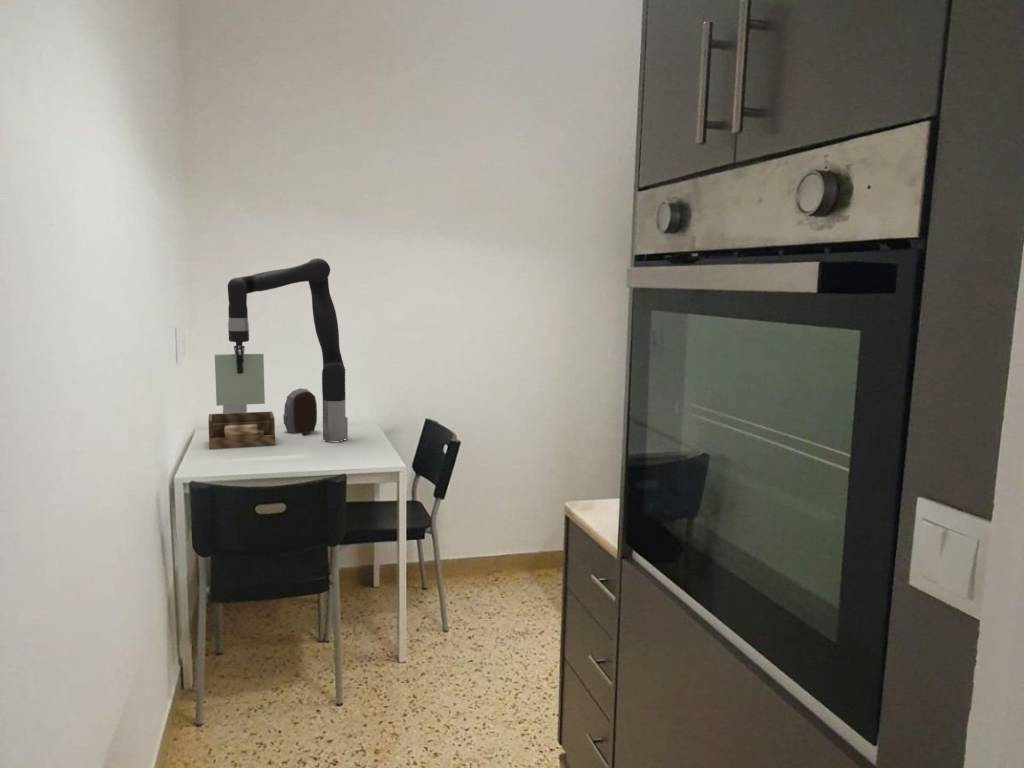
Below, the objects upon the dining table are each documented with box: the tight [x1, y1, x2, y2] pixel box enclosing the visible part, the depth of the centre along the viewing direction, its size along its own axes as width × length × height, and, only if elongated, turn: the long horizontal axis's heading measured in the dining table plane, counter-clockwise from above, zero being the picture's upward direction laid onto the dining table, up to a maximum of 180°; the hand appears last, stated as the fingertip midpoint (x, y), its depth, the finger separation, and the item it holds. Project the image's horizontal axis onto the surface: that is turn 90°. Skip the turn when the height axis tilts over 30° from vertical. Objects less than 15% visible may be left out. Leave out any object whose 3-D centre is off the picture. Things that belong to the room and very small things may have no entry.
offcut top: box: [224, 424, 258, 434], centre depth 285 cm, size 12×5×2 cm, turn 109°
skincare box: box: [222, 404, 248, 413], centre depth 306 cm, size 8×6×15 cm
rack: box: [207, 410, 276, 450], centre depth 288 cm, size 24×14×12 cm, turn 112°
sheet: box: [214, 353, 266, 406], centre depth 288 cm, size 18×2×20 cm, turn 112°
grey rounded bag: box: [282, 387, 318, 435], centre depth 313 cm, size 15×8×20 cm, turn 136°
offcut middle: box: [225, 430, 264, 438], centre depth 286 cm, size 14×5×2 cm, turn 115°
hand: (240, 372), depth 288 cm, fingers closed on sheet, 2 cm apart
